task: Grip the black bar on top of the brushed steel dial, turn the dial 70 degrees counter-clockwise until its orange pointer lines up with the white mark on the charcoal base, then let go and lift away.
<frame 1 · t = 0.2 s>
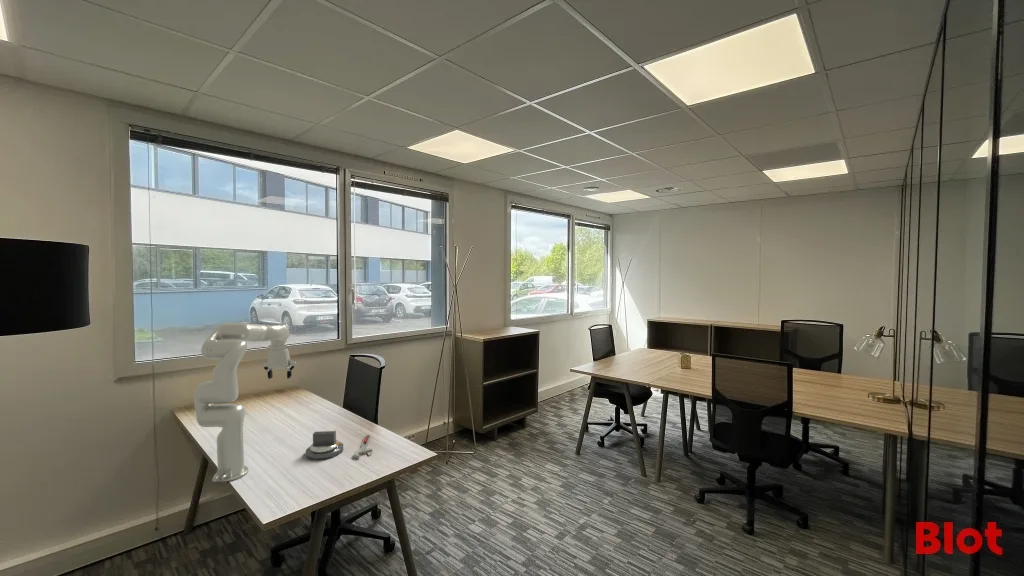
hand: (279, 378, 218), 31 cm above the table, fingers open, 9 cm apart
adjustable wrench: (365, 448, 203), on the table
dial: (326, 439, 197), point 6 cm above the table, hinge at 0.0°
dial base: (324, 452, 197), on the table
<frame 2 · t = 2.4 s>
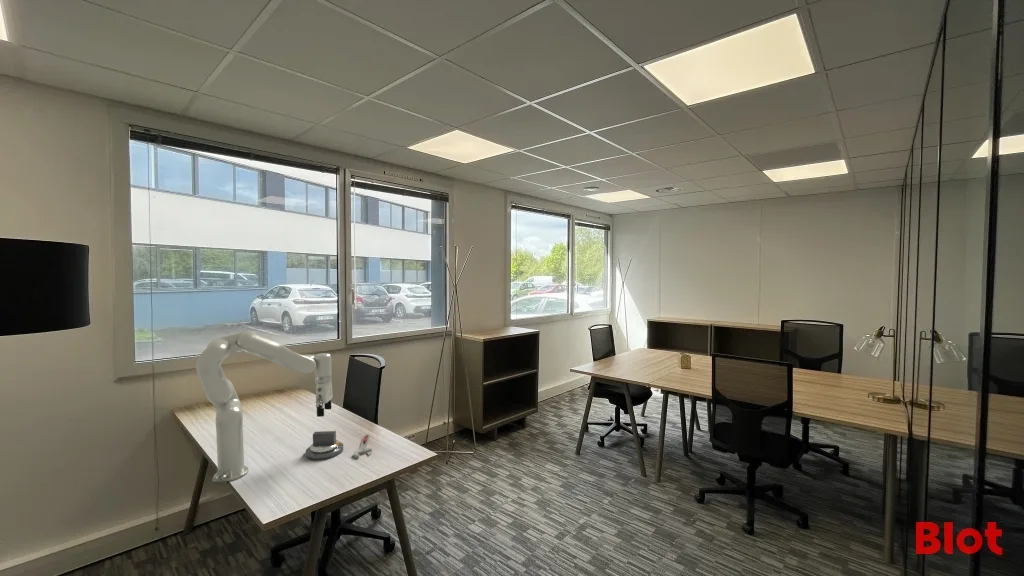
hand: (324, 412, 197), 20 cm above the table, fingers open, 9 cm apart
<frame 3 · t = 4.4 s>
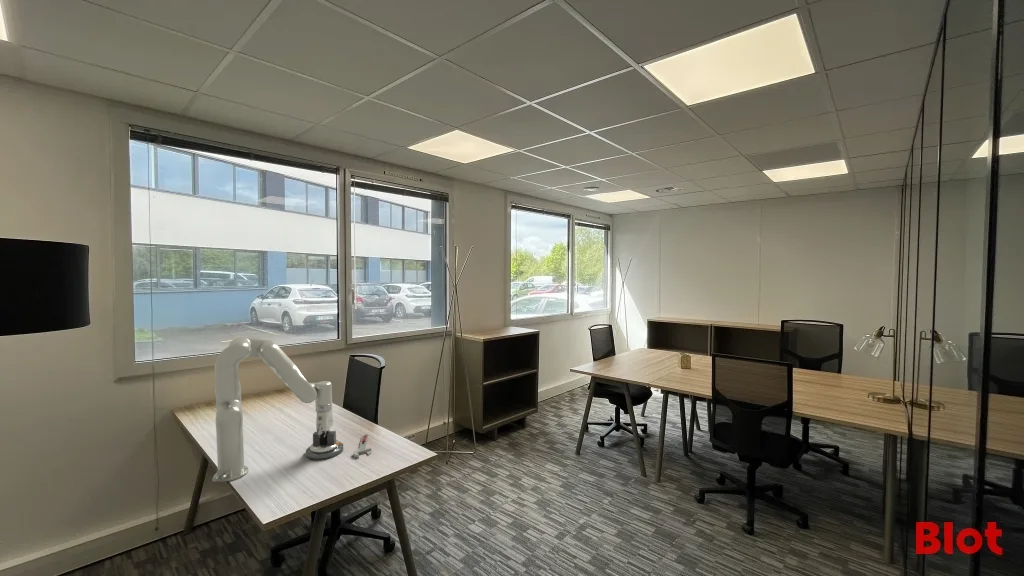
hand: (324, 442, 197), 5 cm above the table, fingers closed on dial, 3 cm apart
dial: (326, 439, 197), point 6 cm above the table, hinge at 0.0°, touching gripper
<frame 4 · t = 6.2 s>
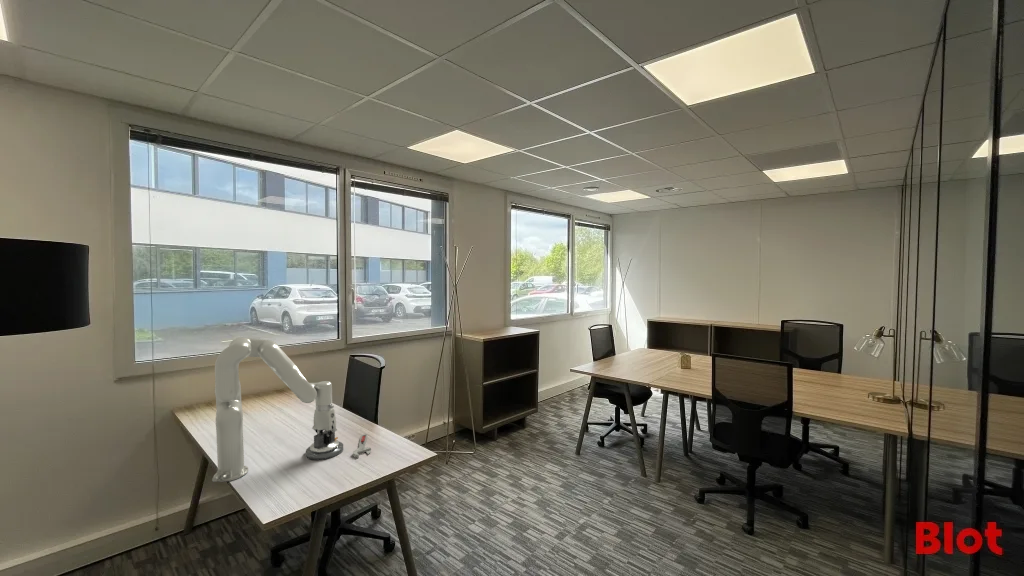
hand: (324, 442, 197), 5 cm above the table, fingers closed on dial, 3 cm apart
dial: (325, 439, 198), point 6 cm above the table, hinge at 62.1°, touching gripper
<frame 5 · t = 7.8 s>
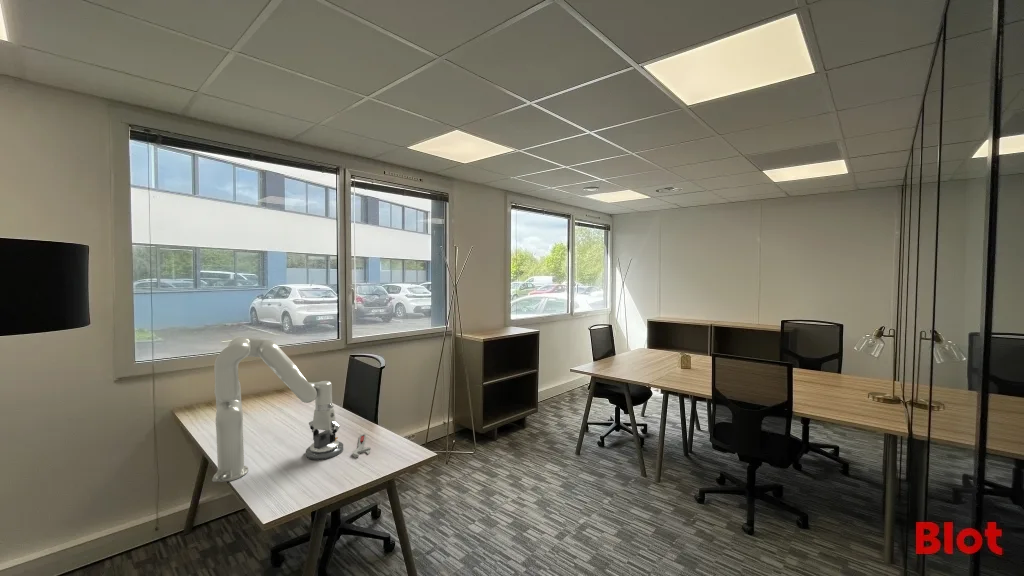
hand: (324, 440, 197), 6 cm above the table, fingers open, 9 cm apart
dial: (325, 439, 198), point 6 cm above the table, hinge at 62.7°
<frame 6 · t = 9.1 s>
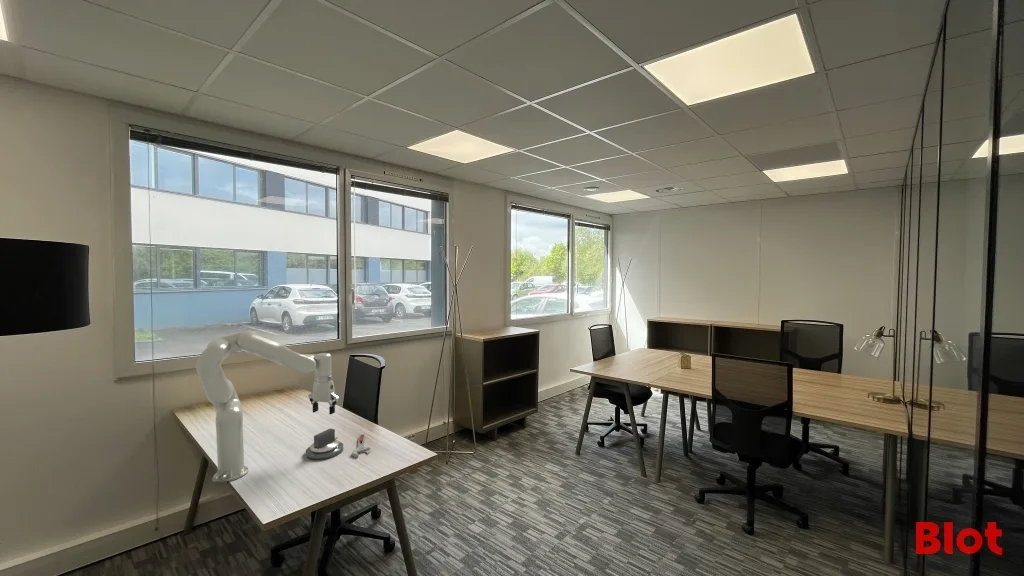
hand: (323, 412, 196), 20 cm above the table, fingers open, 9 cm apart
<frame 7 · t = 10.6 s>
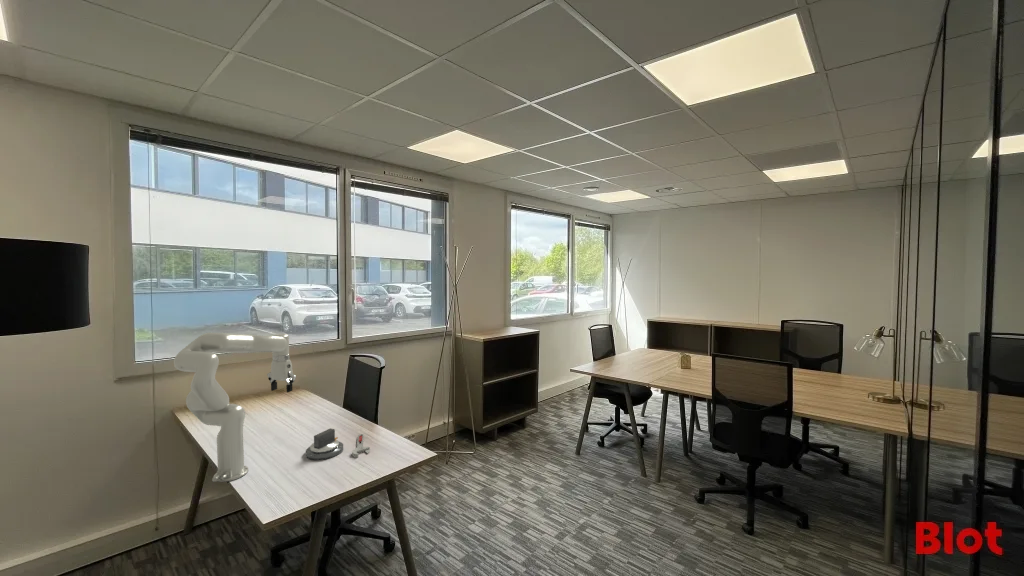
hand: (281, 390, 205), 28 cm above the table, fingers open, 9 cm apart
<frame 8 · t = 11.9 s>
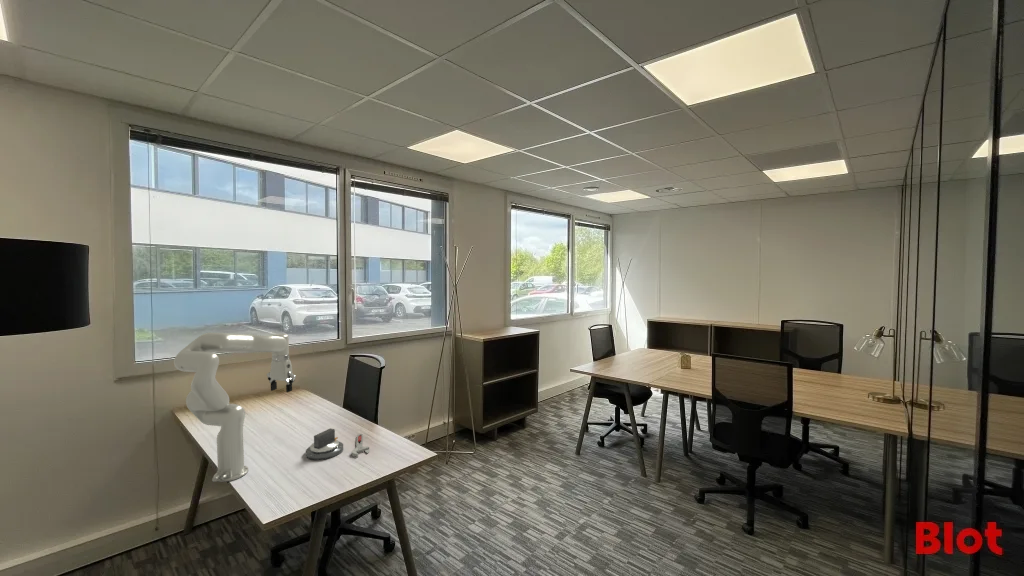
hand: (281, 390, 205), 28 cm above the table, fingers open, 9 cm apart
at the end: dial at +63° (first picture: +0°); the gripper is holding nothing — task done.
